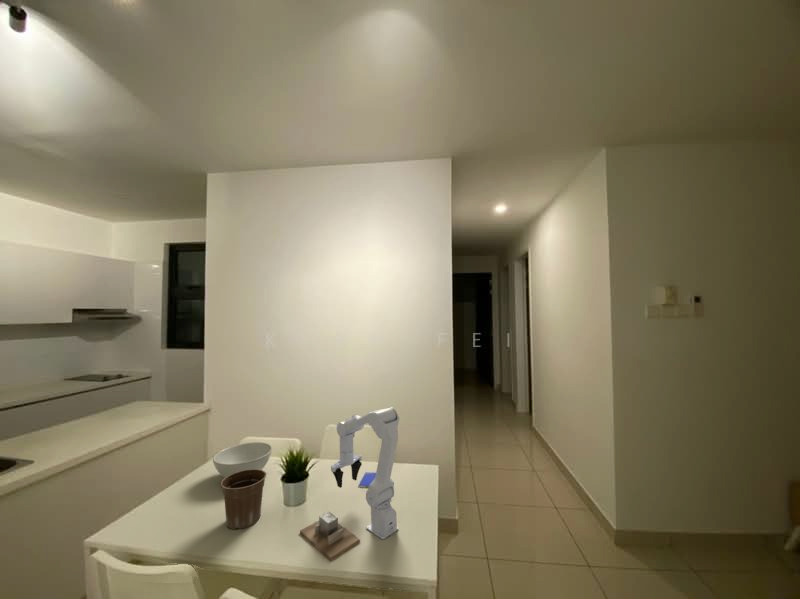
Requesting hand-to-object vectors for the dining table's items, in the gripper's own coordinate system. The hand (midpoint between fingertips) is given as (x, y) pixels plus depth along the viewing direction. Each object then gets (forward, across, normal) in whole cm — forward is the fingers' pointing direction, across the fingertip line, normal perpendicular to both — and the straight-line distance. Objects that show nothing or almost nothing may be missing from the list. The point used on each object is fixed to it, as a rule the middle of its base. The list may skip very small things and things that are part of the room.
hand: (347, 483), depth 137 cm
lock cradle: (+9, +16, +11) cm, 21 cm away
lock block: (+8, +16, +10) cm, 21 cm away
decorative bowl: (+10, +19, -60) cm, 64 cm away
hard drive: (+10, -20, -9) cm, 24 cm away
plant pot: (+10, +33, -24) cm, 42 cm away
